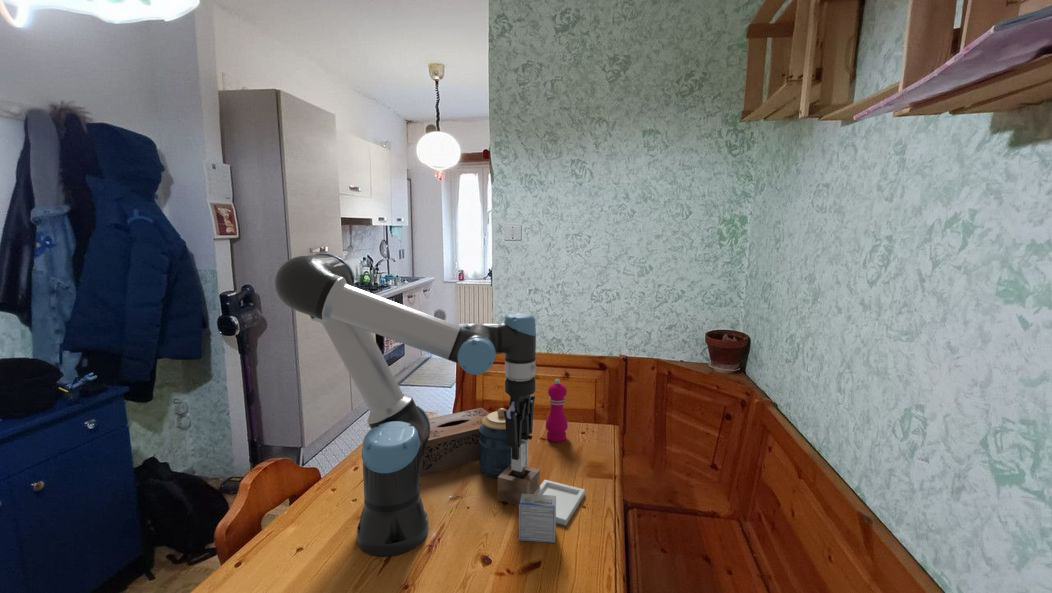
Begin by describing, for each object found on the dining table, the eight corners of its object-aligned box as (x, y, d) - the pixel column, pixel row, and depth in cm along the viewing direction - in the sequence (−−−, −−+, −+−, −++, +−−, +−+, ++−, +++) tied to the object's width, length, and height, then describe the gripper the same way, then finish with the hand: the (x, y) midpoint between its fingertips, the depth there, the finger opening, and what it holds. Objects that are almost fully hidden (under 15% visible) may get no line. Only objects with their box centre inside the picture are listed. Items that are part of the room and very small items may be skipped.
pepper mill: (571, 436, 150) (572, 378, 148) (560, 445, 144) (562, 384, 141) (552, 431, 154) (553, 374, 151) (541, 439, 148) (542, 380, 145)
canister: (496, 485, 120) (496, 421, 118) (470, 465, 130) (469, 406, 128) (533, 469, 128) (534, 409, 126) (506, 452, 138) (506, 397, 136)
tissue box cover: (481, 436, 150) (481, 407, 149) (502, 454, 138) (502, 422, 137) (404, 455, 137) (403, 423, 135) (420, 477, 124) (419, 442, 123)
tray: (522, 513, 108) (522, 507, 108) (544, 484, 121) (544, 479, 120) (565, 525, 103) (566, 519, 103) (584, 494, 116) (584, 489, 116)
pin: (512, 481, 114) (512, 444, 113) (517, 476, 117) (517, 439, 116) (522, 484, 113) (522, 446, 112) (527, 479, 116) (527, 442, 114)
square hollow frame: (497, 499, 114) (497, 477, 113) (512, 484, 121) (512, 462, 120) (526, 507, 110) (527, 484, 109) (539, 491, 117) (540, 469, 117)
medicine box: (555, 531, 102) (556, 494, 101) (554, 544, 97) (555, 506, 96) (520, 528, 102) (521, 492, 101) (518, 541, 98) (518, 504, 97)
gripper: (520, 388, 103) (519, 485, 106) (546, 370, 117) (545, 456, 120) (491, 383, 106) (491, 478, 109) (520, 366, 120) (519, 450, 123)
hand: (519, 466), depth 115 cm, fingers closed on pin, 3 cm apart
